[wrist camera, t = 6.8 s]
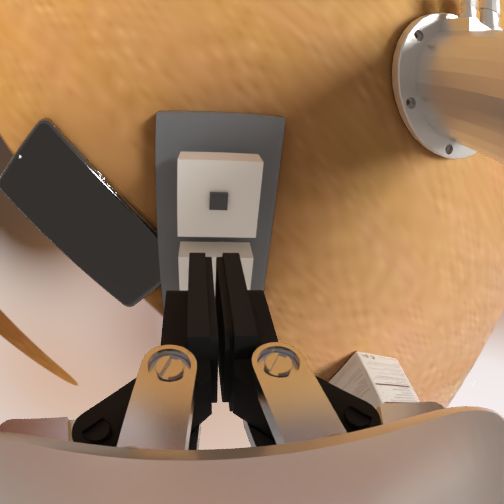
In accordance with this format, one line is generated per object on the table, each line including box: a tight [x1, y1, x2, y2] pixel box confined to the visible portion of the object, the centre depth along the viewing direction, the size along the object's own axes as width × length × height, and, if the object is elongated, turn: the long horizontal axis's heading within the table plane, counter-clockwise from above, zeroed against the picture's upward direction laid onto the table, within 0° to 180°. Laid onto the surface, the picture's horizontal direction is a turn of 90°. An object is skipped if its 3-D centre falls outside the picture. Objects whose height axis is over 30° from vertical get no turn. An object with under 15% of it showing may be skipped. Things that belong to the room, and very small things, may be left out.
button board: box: [155, 111, 286, 311], centre depth 24 cm, size 21×8×2 cm, turn 175°
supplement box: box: [328, 351, 420, 407], centre depth 30 cm, size 7×7×13 cm
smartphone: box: [0, 118, 161, 307], centre depth 22 cm, size 7×1×16 cm
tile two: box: [178, 241, 254, 293], centre depth 21 cm, size 5×5×2 cm
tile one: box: [177, 151, 264, 238], centre depth 18 cm, size 5×5×2 cm
